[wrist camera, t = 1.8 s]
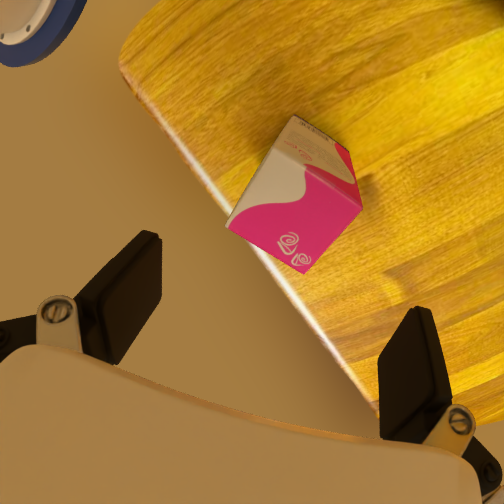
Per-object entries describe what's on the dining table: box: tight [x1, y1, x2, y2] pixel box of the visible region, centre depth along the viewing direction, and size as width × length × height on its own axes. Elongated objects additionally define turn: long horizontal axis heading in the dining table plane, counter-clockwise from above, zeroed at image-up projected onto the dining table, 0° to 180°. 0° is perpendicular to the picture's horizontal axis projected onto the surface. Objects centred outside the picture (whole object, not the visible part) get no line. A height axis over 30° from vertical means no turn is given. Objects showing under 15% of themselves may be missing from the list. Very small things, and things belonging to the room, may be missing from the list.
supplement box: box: [225, 114, 363, 274], centre depth 21 cm, size 6×6×12 cm
